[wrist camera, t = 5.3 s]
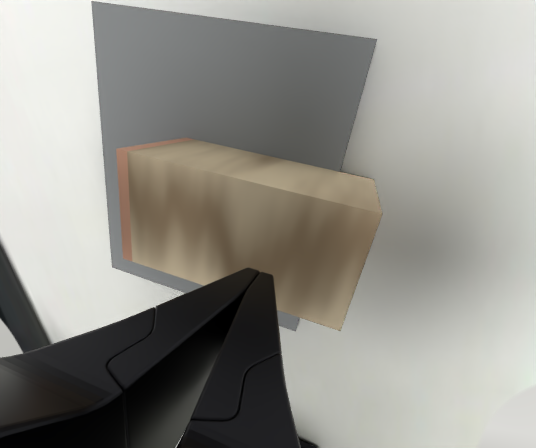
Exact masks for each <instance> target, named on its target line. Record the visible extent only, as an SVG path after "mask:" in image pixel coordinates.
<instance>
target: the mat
mask: <svg viewBox="0 0 536 448" xmlns="http://www.w3.org/2000/svg"><path fill="white" fill-rule="evenodd" d="M92 14H93V27H94V40H95V53H96V66H97V79H98V92H99V105H100V117H101V130H102V143H103V156H104V169H105V182H106V195H107V208H108V221H109V234H110V247H111V260H112V267H113V268H116V269H119V270H121V271H124V272H127V273H130V274H133V275H136V276H139V277H142V278H144V279H147V280H150V281H153V282H156V283H159V284H162V285H164V286H167V287H170V288H173V289H176V290H179V291H182V292H184V293H188V292H191V291H193V290H195V289H198V288H200V287H202V286H204V285H201V284H198V283H195V282H192V281H189V280H186V279H183V278H180V277H177V276H174V275H171V274H168V273H165V272H162V271H159V270H156V269H153V268H150V267H147V266H144V265H141V264H138V263H135V262H132V261H129V260H126V259H123V251H122V235H121V219H120V203H119V187H118V171H117V155H116V149H117V148H124V147H130V146H136V145H143V144H149V143H155V142H162V141H168V140H174V139H181V138H190V139H195V140H199V141H204V142H208V143H213V144H217V145H222V146H226V147H231V148H235V149H240V150H244V151H249V152H253V153H257V154H262V155H266V156H271V157H275V158H280V159H284V160H289V161H293V162H298V163H302V164H307V165H311V166H316V167H320V168H325V169H329V170H334V171H338V172H340V170H341V167H342V163H343V159H344V156H345V152H346V149H347V145H348V142H349V138H350V134H351V131H352V127H353V124H354V120H355V116H356V113H357V109H358V106H359V102H360V98H361V95H362V91H363V88H364V84H365V80H366V77H367V73H368V70H369V66H370V63H371V59H372V55H373V52H374V48H375V45H376V41H377V39H371V38H364V37H356V36H349V35H341V34H334V33H326V32H319V31H311V30H304V29H296V28H289V27H281V26H274V25H266V24H259V23H251V22H244V21H236V20H229V19H222V18H214V17H207V16H199V15H192V14H184V13H177V12H169V11H162V10H154V9H147V8H139V7H132V6H124V5H117V4H109V3H102V2H94V1H92ZM277 314H278V324H279V326H282V327H285V328H287V329H290V330H293V331H296V328H297V325H298V321H299V317H297V316H294V315H291V314H288V313H285V312H282V311H279V310H277Z"/></svg>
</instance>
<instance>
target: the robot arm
mask: <svg viewBox="0 0 536 448" xmlns="http://www.w3.org/2000/svg"><path fill="white" fill-rule="evenodd" d="M281 354H282V352H281V343H280V333H279V324H278V314H277V305H276V295H275V286H274V277H273V275H272V274H268V273H265V272H260V271H259V270H256V269H253V268H249V267H247V268H245V269H242V270H240V271H238V272H235V273H233V274H230V275H228V276H226V277H223V278H221V279H219V280H216V281H214V282H212V283H209V284H207V285H205V286H202V287H200V288H198V289H195V290H193V291H191V292H188V293H186V294H184V295H181V296H179V297H176V298H174V299H172V300H169V301H167V302H165V303H162V304H160V305H158V306H156V308H154V307H153V308H150V309H148V310H146V311H143V312H141V313H139V314H136V315H134V316H131V317H129V318H126V319H124V320H121V321H118V322H116V323H113V324H110V325H107V326H104V327H101V328H99V329H96V330H93V331H90V332H87V333H84V334H81V335H78V336H75V337H72V338H69V339H66V340H63V341H60V342H57V343H54V344H51V345H48V346H45V347H42V348H39V349H36V350H33V351H30V352H26V353H23V354H19V355H14V356H9V357H2V358H0V448H175V447H176V445H177V443H178V442H179V440H180V438H181V436H182V435H183V436H182V438H181V440H180V442H179V444H178V446H177V447H176V448H316V447H315V446H312V445H310V444H308V443H305V442H303V441H301V440H299V439H298V435H297V431H296V427H295V423H294V419H293V415H292V411H291V407H290V402H289V398H288V393H287V389H286V383H285V376H284V369H283V360H282V355H281ZM184 431H185V432H184ZM183 433H184V434H183Z"/></svg>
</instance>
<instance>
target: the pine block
mask: <svg viewBox="0 0 536 448" xmlns="http://www.w3.org/2000/svg"><path fill="white" fill-rule="evenodd" d="M116 155H117V171H118V187H119V203H120V219H121V235H122V251H123V259H126V260H129V261H132V262H135V263H138V264H141V265H144V266H147V267H150V268H153V269H156V270H159V271H162V272H165V273H168V274H171V275H174V276H177V277H180V278H183V279H186V280H189V281H192V282H195V283H198V284H201V285H204V286H205V285H207V284H209V283H212V282H214V281H216V280H219V279H221V278H223V277H226V276H228V275H230V274H233V273H235V272H238V271H240V270H242V269H245V268H247V267H249V268H253V269H256V270H259V271H260V272H265V273H268V274H272V275H273V277H274V286H275V295H276V305H277V310H279V311H282V312H285V313H288V314H291V315H294V316H297V317H300V318H303V319H306V320H309V321H312V322H314V323H317V324H320V325H323V326H326V327H329V328H332V329H335V330H338V331H341V328H342V325H343V322H344V319H345V317H346V314H347V311H348V308H349V305H350V303H351V300H352V297H353V294H354V292H355V289H356V286H357V283H358V280H359V278H360V275H361V272H362V269H363V267H364V264H365V261H366V258H367V255H368V253H369V250H370V247H371V244H372V241H373V239H374V236H375V233H376V230H377V228H378V225H379V222H380V219H381V216H382V210H381V206H380V202H379V198H378V194H377V190H376V186H375V182H374V179H370V178H365V177H361V176H356V175H352V174H347V173H343V172H338V171H334V170H329V169H325V168H320V167H316V166H311V165H307V164H302V163H298V162H293V161H289V160H284V159H280V158H275V157H271V156H266V155H262V154H257V153H253V152H249V151H244V150H240V149H235V148H231V147H226V146H222V145H217V144H213V143H208V142H204V141H199V140H195V139H190V138H181V139H174V140H168V141H162V142H155V143H149V144H143V145H136V146H130V147H124V148H117V149H116Z"/></svg>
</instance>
